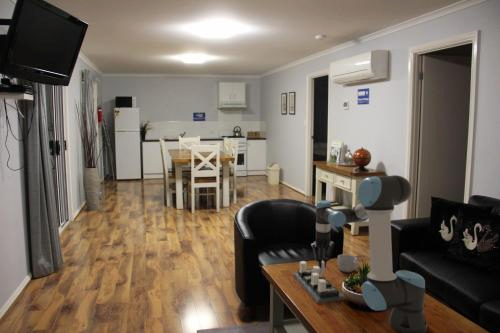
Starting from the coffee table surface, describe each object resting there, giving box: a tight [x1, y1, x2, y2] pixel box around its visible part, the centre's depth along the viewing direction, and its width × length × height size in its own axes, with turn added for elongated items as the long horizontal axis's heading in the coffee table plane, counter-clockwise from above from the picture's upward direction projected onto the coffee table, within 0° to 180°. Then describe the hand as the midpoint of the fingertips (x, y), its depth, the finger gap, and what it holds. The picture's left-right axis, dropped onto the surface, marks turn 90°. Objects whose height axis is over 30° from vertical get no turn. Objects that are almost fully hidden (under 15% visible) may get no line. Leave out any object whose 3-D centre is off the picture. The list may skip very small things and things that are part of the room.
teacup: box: [337, 253, 359, 273], centre depth 227 cm, size 14×11×8 cm
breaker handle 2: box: [312, 265, 321, 277], centre depth 210 cm, size 3×3×5 cm
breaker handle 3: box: [311, 273, 319, 285], centre depth 201 cm, size 3×3×5 cm
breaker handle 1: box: [299, 260, 308, 273], centre depth 217 cm, size 3×3×5 cm
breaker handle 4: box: [318, 279, 326, 292], centre depth 194 cm, size 3×3×5 cm
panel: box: [293, 268, 345, 304], centre depth 207 cm, size 32×14×4 cm, turn 15°
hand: (322, 273), depth 211 cm, fingers closed
